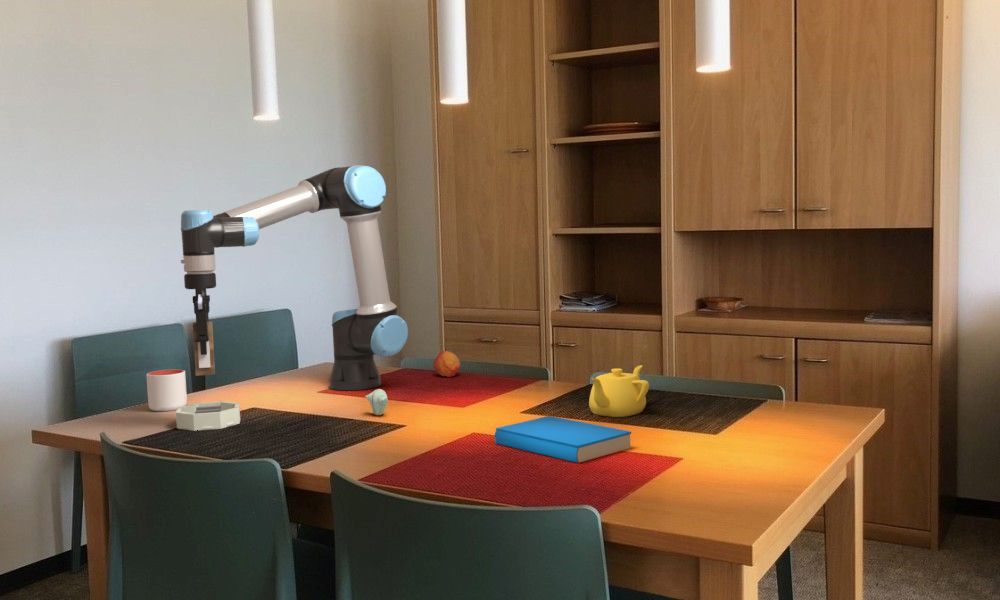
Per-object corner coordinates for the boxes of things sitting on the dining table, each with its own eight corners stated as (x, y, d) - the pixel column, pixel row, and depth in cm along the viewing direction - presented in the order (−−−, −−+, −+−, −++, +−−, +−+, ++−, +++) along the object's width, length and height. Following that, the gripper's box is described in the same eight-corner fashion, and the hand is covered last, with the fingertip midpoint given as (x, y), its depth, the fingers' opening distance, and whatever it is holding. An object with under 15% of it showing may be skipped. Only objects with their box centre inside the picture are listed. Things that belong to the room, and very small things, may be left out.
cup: (193, 404, 274) (191, 369, 273) (178, 412, 264) (175, 375, 263) (158, 405, 275) (156, 369, 274) (142, 412, 265) (139, 375, 264)
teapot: (624, 424, 231) (623, 379, 230) (570, 417, 242) (569, 373, 241) (673, 408, 248) (672, 365, 247) (621, 401, 258) (620, 360, 257)
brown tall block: (215, 372, 248) (212, 321, 247) (214, 374, 246) (211, 322, 245) (196, 374, 247) (193, 322, 246) (195, 375, 245) (192, 323, 244)
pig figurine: (363, 414, 252) (362, 388, 252) (376, 412, 255) (375, 386, 254) (382, 418, 247) (381, 392, 246) (395, 416, 249) (394, 389, 249)
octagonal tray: (241, 415, 257) (240, 399, 257) (239, 427, 242) (238, 411, 242) (179, 419, 254) (178, 404, 253) (174, 432, 239) (173, 416, 238)
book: (548, 415, 228) (632, 429, 209) (548, 434, 228) (632, 449, 209) (493, 428, 216) (576, 444, 198) (494, 447, 216) (577, 465, 198)
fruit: (450, 373, 311) (449, 348, 310) (466, 376, 305) (465, 350, 304) (430, 376, 306) (429, 351, 305) (445, 379, 300) (444, 353, 299)
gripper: (186, 271, 251) (191, 363, 253) (181, 274, 236) (187, 372, 238) (216, 270, 253) (221, 361, 255) (214, 273, 238) (219, 370, 240)
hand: (205, 366), depth 246 cm, fingers closed on brown tall block, 2 cm apart
